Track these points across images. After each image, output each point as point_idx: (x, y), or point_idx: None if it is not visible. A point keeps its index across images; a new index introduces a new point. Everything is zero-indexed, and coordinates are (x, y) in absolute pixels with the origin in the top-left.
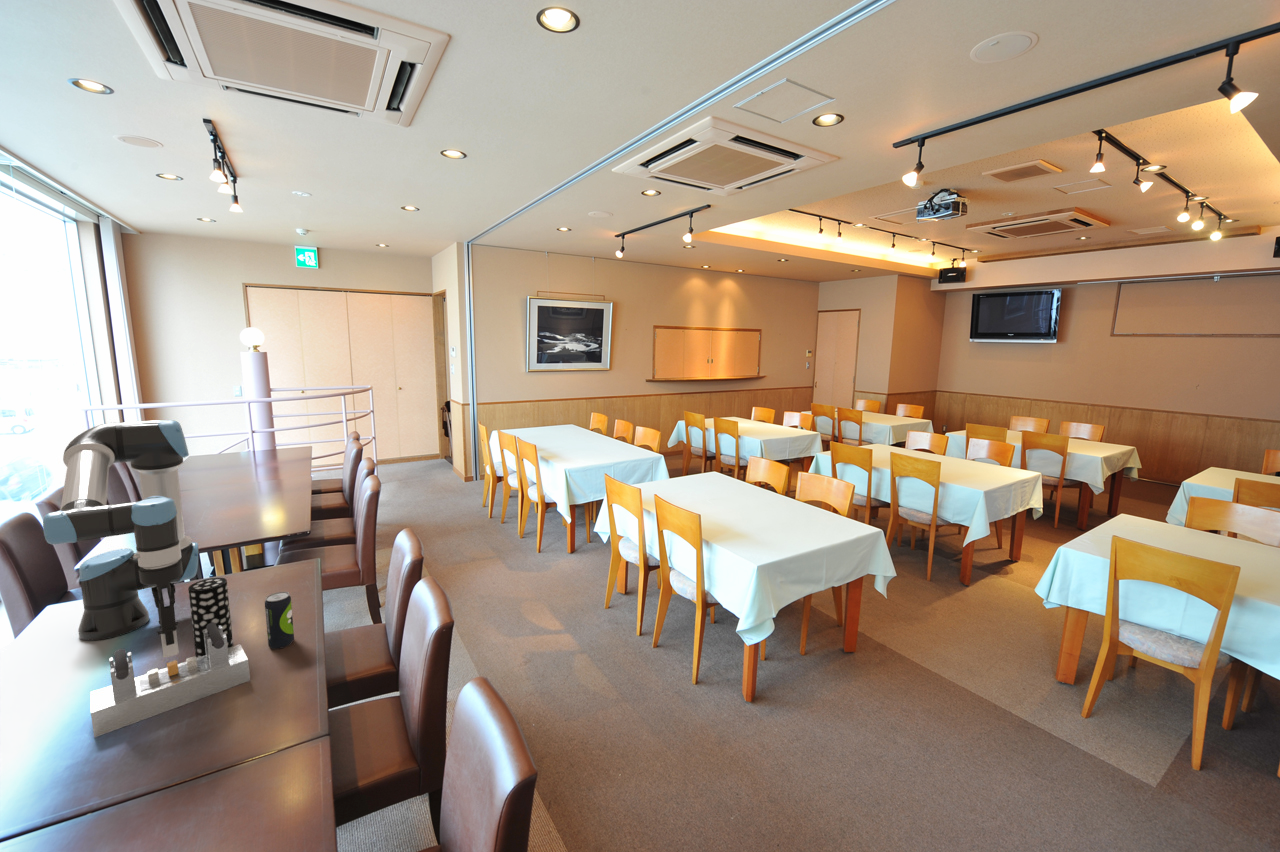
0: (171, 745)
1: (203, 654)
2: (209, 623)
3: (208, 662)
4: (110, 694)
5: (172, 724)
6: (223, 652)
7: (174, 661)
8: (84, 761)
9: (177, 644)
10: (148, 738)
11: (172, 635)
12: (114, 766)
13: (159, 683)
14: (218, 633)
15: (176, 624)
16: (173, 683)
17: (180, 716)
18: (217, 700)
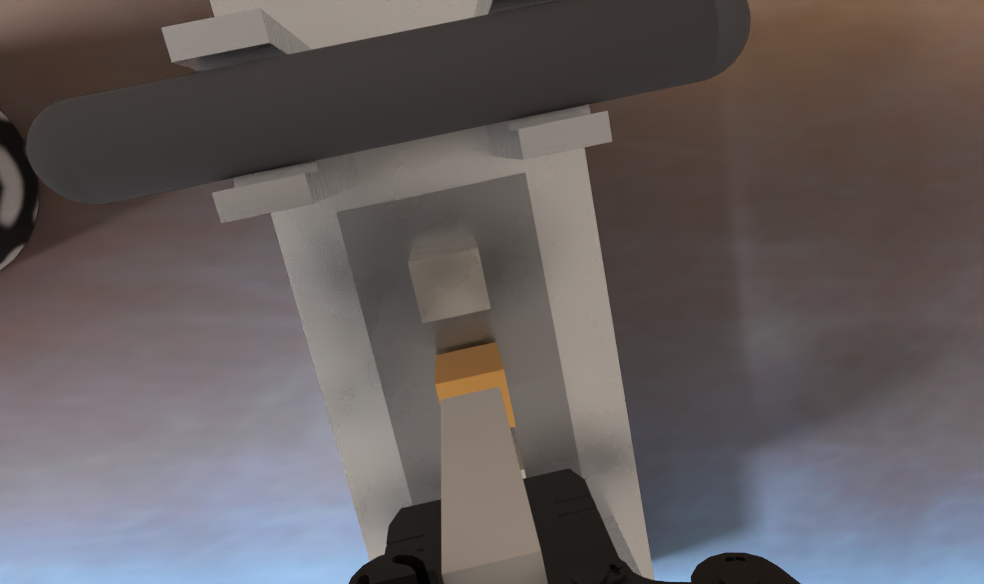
0: (907, 280)
1: (12, 238)
2: (71, 166)
3: (414, 171)
4: None
5: (730, 300)
6: None
7: (455, 394)
8: (785, 559)
9: (510, 432)
10: (780, 376)
11: (611, 544)
12: (900, 455)
13: (553, 427)
14: (464, 37)
15: (435, 581)
16: (596, 351)
17: (679, 276)
18: (635, 119)
